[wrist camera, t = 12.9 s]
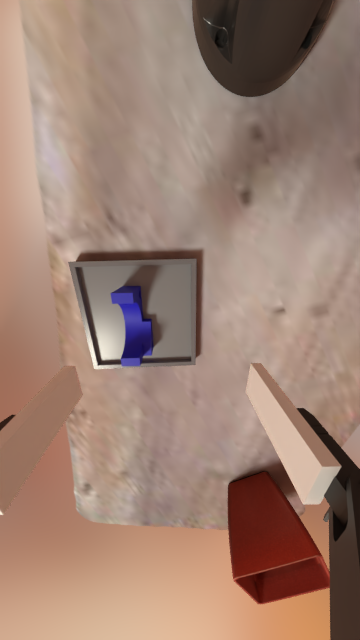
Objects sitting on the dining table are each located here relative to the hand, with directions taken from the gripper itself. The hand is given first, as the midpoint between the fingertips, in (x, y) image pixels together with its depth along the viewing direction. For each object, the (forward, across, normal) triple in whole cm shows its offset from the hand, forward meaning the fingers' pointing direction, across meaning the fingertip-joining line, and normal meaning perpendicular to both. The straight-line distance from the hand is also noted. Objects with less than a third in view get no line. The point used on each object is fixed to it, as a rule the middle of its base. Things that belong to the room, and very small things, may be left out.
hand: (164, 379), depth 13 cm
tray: (+20, -6, -2) cm, 21 cm away
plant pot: (+19, +25, -59) cm, 67 cm away
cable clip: (+19, -6, -2) cm, 20 cm away
